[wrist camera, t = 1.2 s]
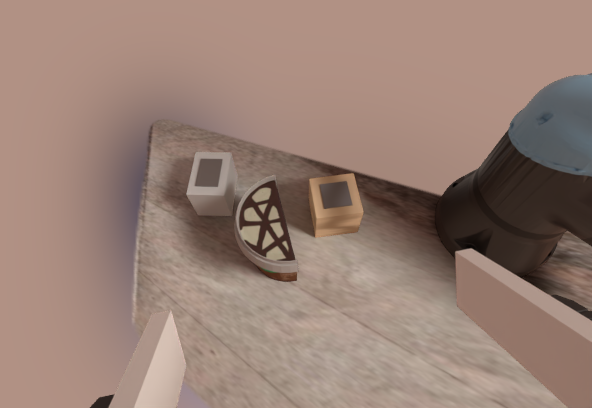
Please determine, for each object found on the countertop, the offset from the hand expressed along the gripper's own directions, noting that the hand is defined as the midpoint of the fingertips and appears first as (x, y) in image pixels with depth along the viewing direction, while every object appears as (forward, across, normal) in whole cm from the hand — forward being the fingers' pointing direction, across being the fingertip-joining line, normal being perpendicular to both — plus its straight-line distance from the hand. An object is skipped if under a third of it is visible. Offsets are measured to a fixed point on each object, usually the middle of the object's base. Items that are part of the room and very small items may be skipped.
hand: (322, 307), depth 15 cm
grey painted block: (+39, -8, -3) cm, 40 cm away
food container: (+32, -2, -10) cm, 34 cm away
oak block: (+34, +8, -8) cm, 36 cm away
